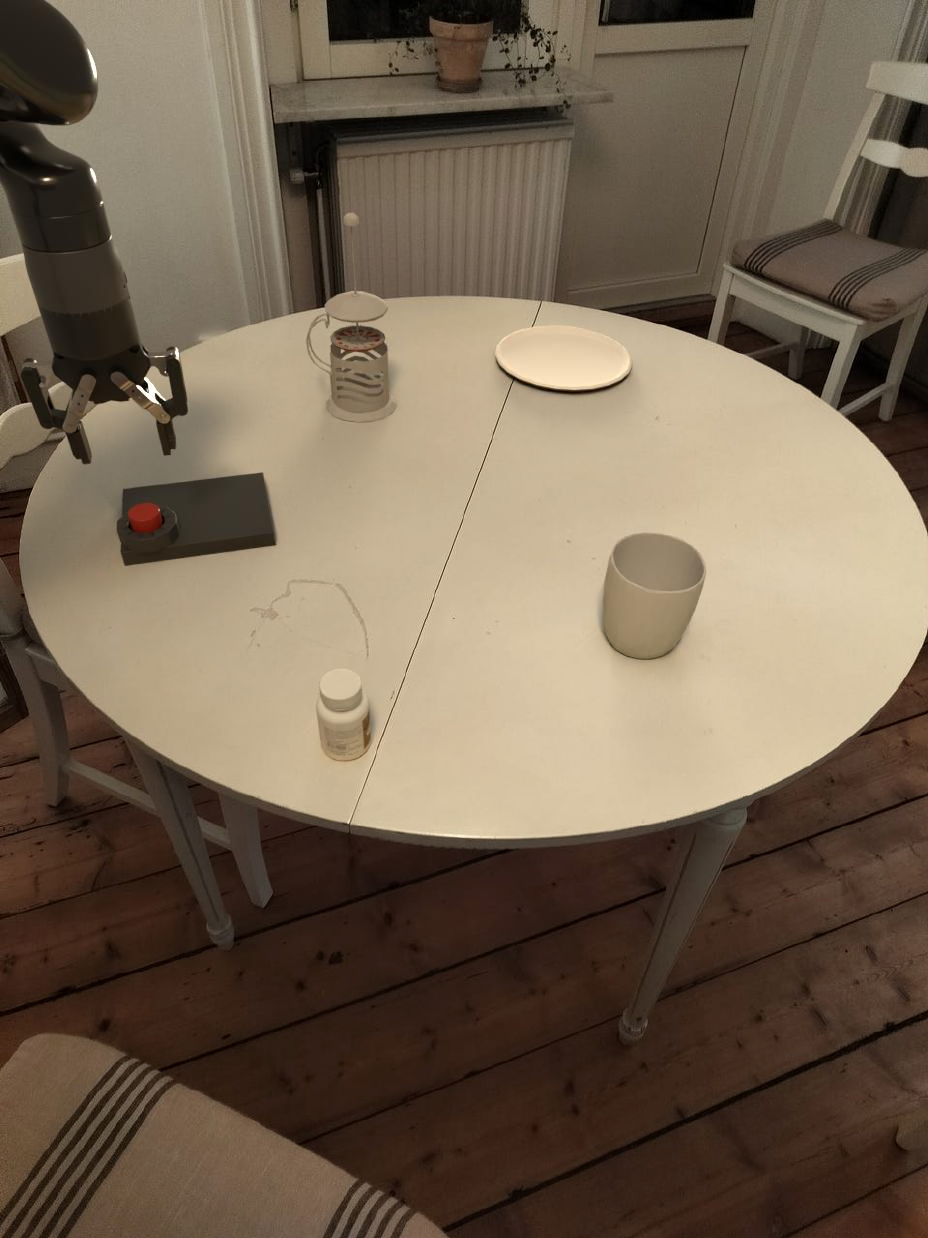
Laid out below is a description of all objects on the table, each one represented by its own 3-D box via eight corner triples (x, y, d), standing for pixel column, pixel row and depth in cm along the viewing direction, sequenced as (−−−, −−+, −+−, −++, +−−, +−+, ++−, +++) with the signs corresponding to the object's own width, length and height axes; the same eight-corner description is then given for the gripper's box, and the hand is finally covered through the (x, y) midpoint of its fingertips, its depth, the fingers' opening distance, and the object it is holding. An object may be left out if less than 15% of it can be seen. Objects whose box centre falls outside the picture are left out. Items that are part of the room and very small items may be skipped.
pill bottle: (379, 750, 72) (376, 692, 67) (332, 769, 71) (325, 711, 66) (358, 716, 75) (354, 657, 70) (313, 733, 74) (305, 674, 68)
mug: (696, 665, 81) (722, 588, 74) (608, 673, 80) (626, 596, 73) (654, 580, 90) (674, 505, 83) (575, 587, 89) (588, 511, 82)
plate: (506, 325, 135) (507, 317, 135) (634, 340, 133) (636, 333, 132) (483, 385, 121) (483, 377, 120) (627, 404, 118) (628, 396, 117)
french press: (394, 423, 112) (389, 229, 95) (307, 419, 112) (287, 224, 95) (399, 387, 119) (395, 201, 102) (318, 384, 119) (301, 197, 102)
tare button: (131, 535, 88) (127, 522, 86) (131, 518, 90) (127, 504, 89) (163, 531, 88) (159, 518, 87) (162, 514, 91) (159, 501, 89)
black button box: (124, 569, 89) (115, 543, 86) (126, 501, 97) (118, 476, 95) (276, 548, 92) (272, 522, 90) (265, 484, 101) (261, 459, 98)
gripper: (-15, 316, 68) (48, 485, 79) (169, 303, 71) (204, 467, 82) (-3, 280, 73) (54, 443, 84) (167, 269, 76) (200, 428, 87)
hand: (128, 455), depth 83 cm, fingers open, 7 cm apart
